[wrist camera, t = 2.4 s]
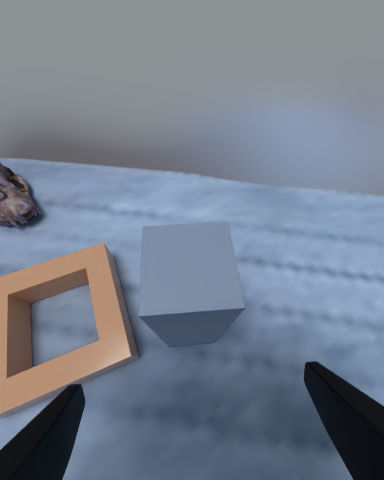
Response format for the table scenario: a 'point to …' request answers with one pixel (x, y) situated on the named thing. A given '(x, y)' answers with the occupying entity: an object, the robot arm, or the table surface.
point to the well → (75, 362)
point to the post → (189, 282)
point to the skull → (14, 199)
